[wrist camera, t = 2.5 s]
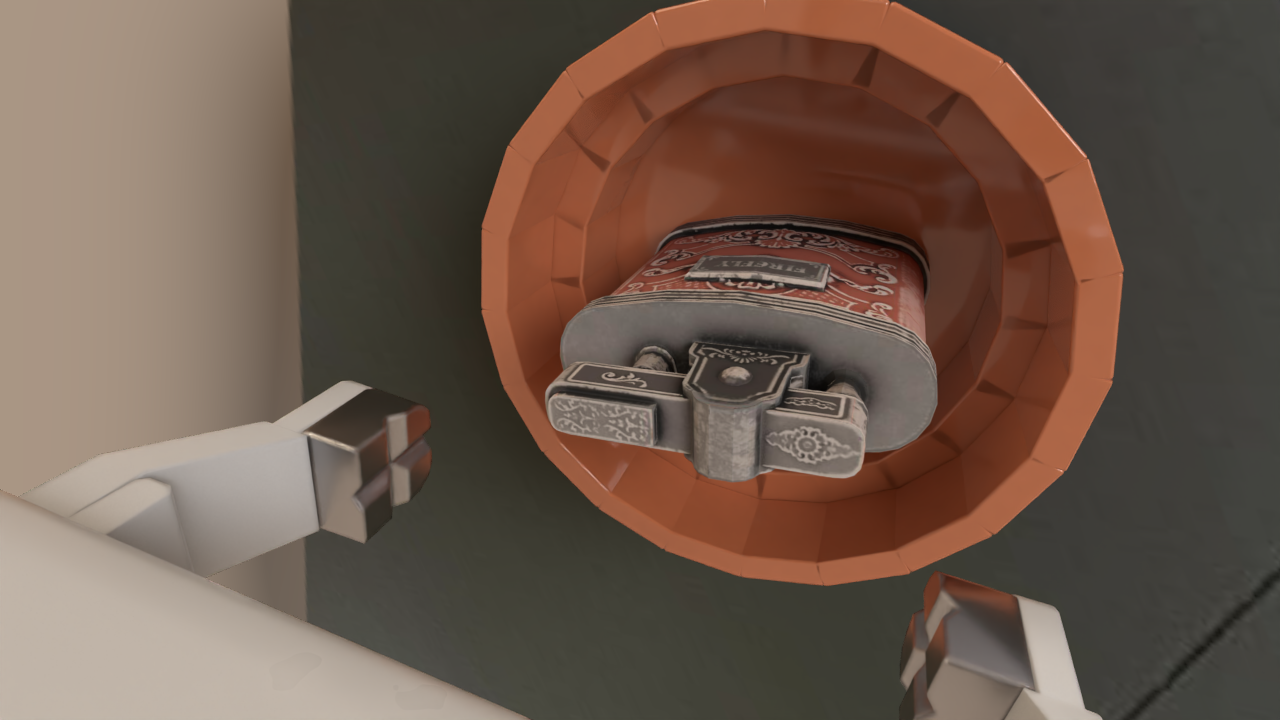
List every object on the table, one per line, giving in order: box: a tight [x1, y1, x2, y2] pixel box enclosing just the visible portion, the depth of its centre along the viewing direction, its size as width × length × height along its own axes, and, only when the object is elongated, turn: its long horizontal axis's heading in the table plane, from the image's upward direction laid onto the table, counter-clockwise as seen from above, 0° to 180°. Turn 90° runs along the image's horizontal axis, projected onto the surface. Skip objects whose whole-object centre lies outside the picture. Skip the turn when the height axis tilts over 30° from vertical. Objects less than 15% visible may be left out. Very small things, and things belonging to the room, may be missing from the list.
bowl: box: [481, 0, 1124, 586], centre depth 19 cm, size 15×15×6 cm
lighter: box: [545, 214, 937, 482], centre depth 16 cm, size 8×3×10 cm, turn 92°
